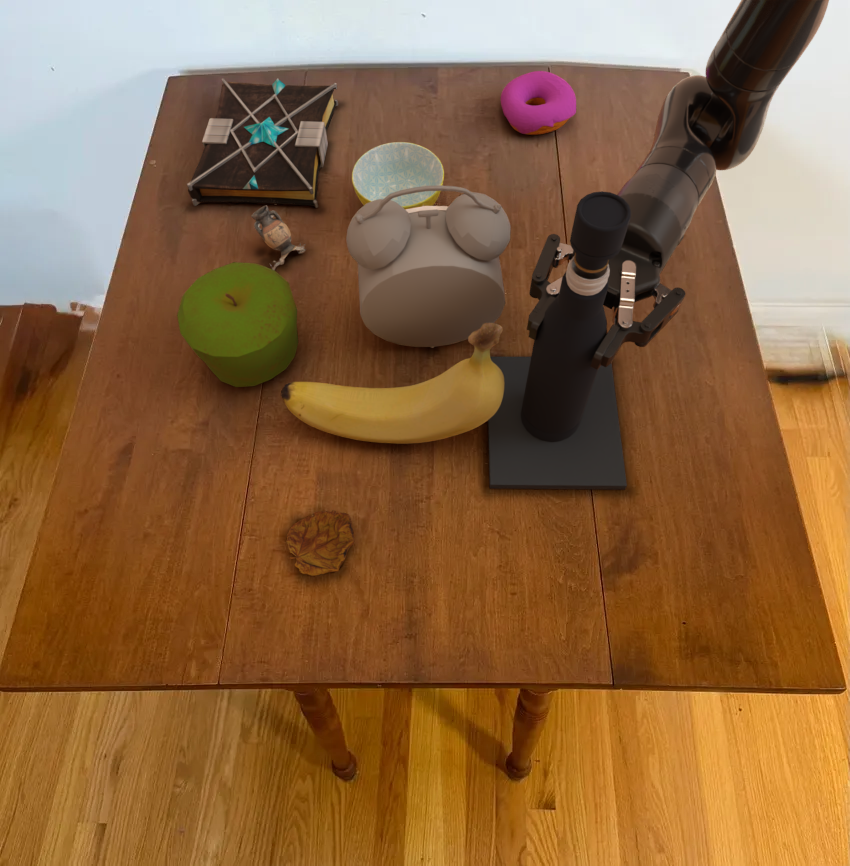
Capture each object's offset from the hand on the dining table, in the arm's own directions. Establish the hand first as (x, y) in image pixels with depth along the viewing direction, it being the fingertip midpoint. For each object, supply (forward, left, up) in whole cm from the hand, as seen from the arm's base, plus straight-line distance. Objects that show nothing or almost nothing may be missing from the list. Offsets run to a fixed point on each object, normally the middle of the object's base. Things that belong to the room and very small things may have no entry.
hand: (564, 347), depth 62 cm
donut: (-2, -52, -17) cm, 55 cm away
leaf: (+23, +12, -17) cm, 31 cm away
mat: (-1, -2, -17) cm, 17 cm away
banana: (+16, -1, -17) cm, 23 cm away
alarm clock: (+12, -14, -17) cm, 25 cm away
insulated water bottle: (-1, -2, -16) cm, 16 cm away
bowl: (+16, -34, -17) cm, 41 cm away
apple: (+33, -11, -17) cm, 38 cm away
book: (+35, -45, -17) cm, 60 cm away
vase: (+32, -27, -17) cm, 45 cm away
